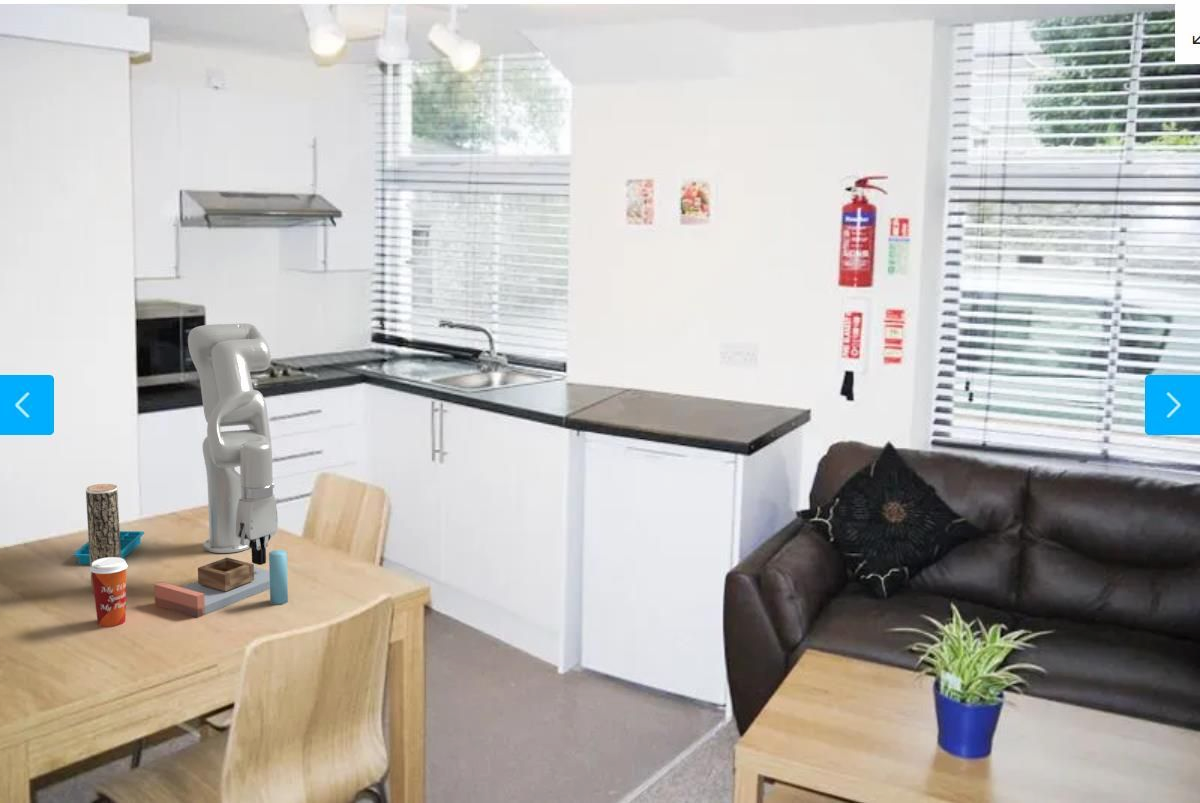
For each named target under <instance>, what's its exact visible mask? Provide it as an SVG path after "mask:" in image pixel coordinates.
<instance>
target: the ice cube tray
mask: <svg viewBox="0 0 1200 803" xmlns="http://www.w3.org/2000/svg"><path fill="white" fill-rule="evenodd" d="M144 534H145V532H144V531H141V530H138V531H137V530H131V531H130V530H120V550H121V558H122V559H124V560H125V558H126V557H127V556H128V555H130V553H132V552H133V550H135V549H136V547H138V546H139V545H140V544H141V542H142V540H141V538H142V537H143V535H144ZM73 556H74V557H77V560H78V564H79V565H90V555H89V541H88V542H85V544H83V545H82V546H81V547H79V549H77V550H76V551H75V552H74V553H73Z"/></svg>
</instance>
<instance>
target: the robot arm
mask: <svg viewBox="0 0 1200 803" xmlns="http://www.w3.org/2000/svg"><path fill="white" fill-rule="evenodd" d="M187 344H188V345H187V346H188V351H189V355H190V357H191V360H192V363H193V364H194V367H195V369H196V371H197V372H196V373H197V374H198V377H199V382H200V389H201V390H200V391H201V399H202V407H203V414H204V418H205V421H206V423H207V425H206V426H207V428H206V433H207V436H206V437H205V438H204V439H203V443H202V454H203V458H204V465H205V469H206V477H207V478H206V479H207V482H206V483H207V502H208V503H207V505H208V508H207V509H208V529H209V530H208V531H209V532H208V534H209V536H208V537H209V539H207V540H205V541H204V542H203V549H204V550H205V551H207V552H211V553H217V554H232V553H233V554H234V553H239V552H242V551H246V550H248V549H251V564H254V565H259V566H262V565H265V564H267V552H266V549H267V547H268V546H269V542H270V540H271V539H272V538H273V537H275V535H276V534H277V530H278V528H279V527H278V524H279V519H278V516H279V515H278V507H277V502H276V498H275V495H274V490H273V489H274V488H275V484H274V483H273V451H272V449H273V448H272V439H271V432H270V422H269V416H268V408H267V402H266V400H265V398H264V395H263V393H261V392H260V391H259V390H257V389H254V387H253V382H252V378H251V372H261V371H266V370H268V369H269V368H270V365H271V361H272V358H271V357H272V355H271V351H270V348H269V344H268V343H267V341H266V339H265V337H264V336H263V335H262V333H261V332H260V330H259V329H258V328H257V326H256V325H254V324H251V323H223V324H222V323H218V324H216V323H214V324H204V325H199V326H196V327H194V328H191V330H190V331H189V333H188V336H187ZM235 426H248V428H249V429H242V430H241V429H237V430H226V431H221V427H222V428H223V427H224V428H225V427H235ZM238 467H239V471H240V473H239V472H237V470H236V469H235V468H238Z"/></svg>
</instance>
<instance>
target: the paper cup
mask: <svg viewBox="0 0 1200 803" xmlns="http://www.w3.org/2000/svg"><path fill="white" fill-rule="evenodd" d="M128 566H129V565H128V564H127V562H126V559H125V558H124V559H122V558H118V557H108V558H102V559H98V560H96V561H94V562H93V563H92V565H91V568H90V567H89V572H90V571H91V572H92V580H93V588H94V590H93V594H94V604H95V611H96V619H97V624H98V626H99V627H104V628H107V627H108V628H111V627H116V626H120V625H122V624H124V623H125V622H126V610H127V607H126V606H127V568H128Z"/></svg>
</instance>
